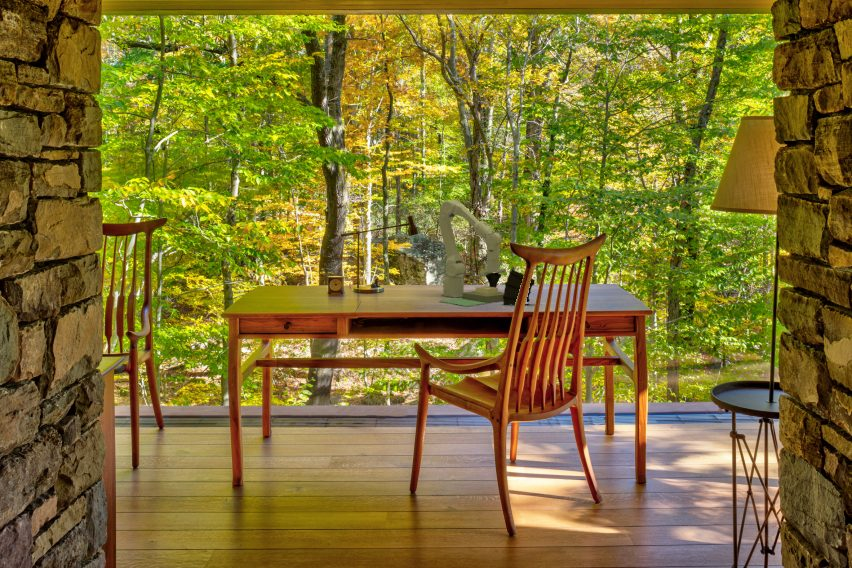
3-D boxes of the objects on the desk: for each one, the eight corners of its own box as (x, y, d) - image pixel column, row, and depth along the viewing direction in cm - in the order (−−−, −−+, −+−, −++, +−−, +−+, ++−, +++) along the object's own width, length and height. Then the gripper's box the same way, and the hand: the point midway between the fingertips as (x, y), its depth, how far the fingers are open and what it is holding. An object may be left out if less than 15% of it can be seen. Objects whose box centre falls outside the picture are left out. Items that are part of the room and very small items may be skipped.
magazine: (495, 299, 341) (511, 268, 339) (523, 313, 341) (539, 282, 338) (495, 301, 338) (511, 269, 335) (523, 314, 337) (539, 283, 335)
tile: (475, 292, 353) (475, 287, 353) (485, 291, 357) (485, 286, 357) (488, 294, 347) (488, 288, 347) (497, 293, 351) (497, 287, 351)
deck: (462, 299, 354) (462, 292, 354) (485, 296, 363) (485, 289, 363) (487, 303, 342) (487, 296, 342) (510, 300, 351) (510, 293, 350)
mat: (439, 301, 347) (439, 300, 347) (459, 299, 354) (459, 298, 354) (466, 306, 333) (466, 305, 333) (487, 303, 341) (487, 302, 341)
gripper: (487, 261, 345) (487, 292, 347) (511, 259, 355) (510, 289, 356) (476, 260, 351) (476, 290, 353) (499, 258, 360) (499, 287, 362)
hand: (493, 290), depth 355 cm, fingers closed
